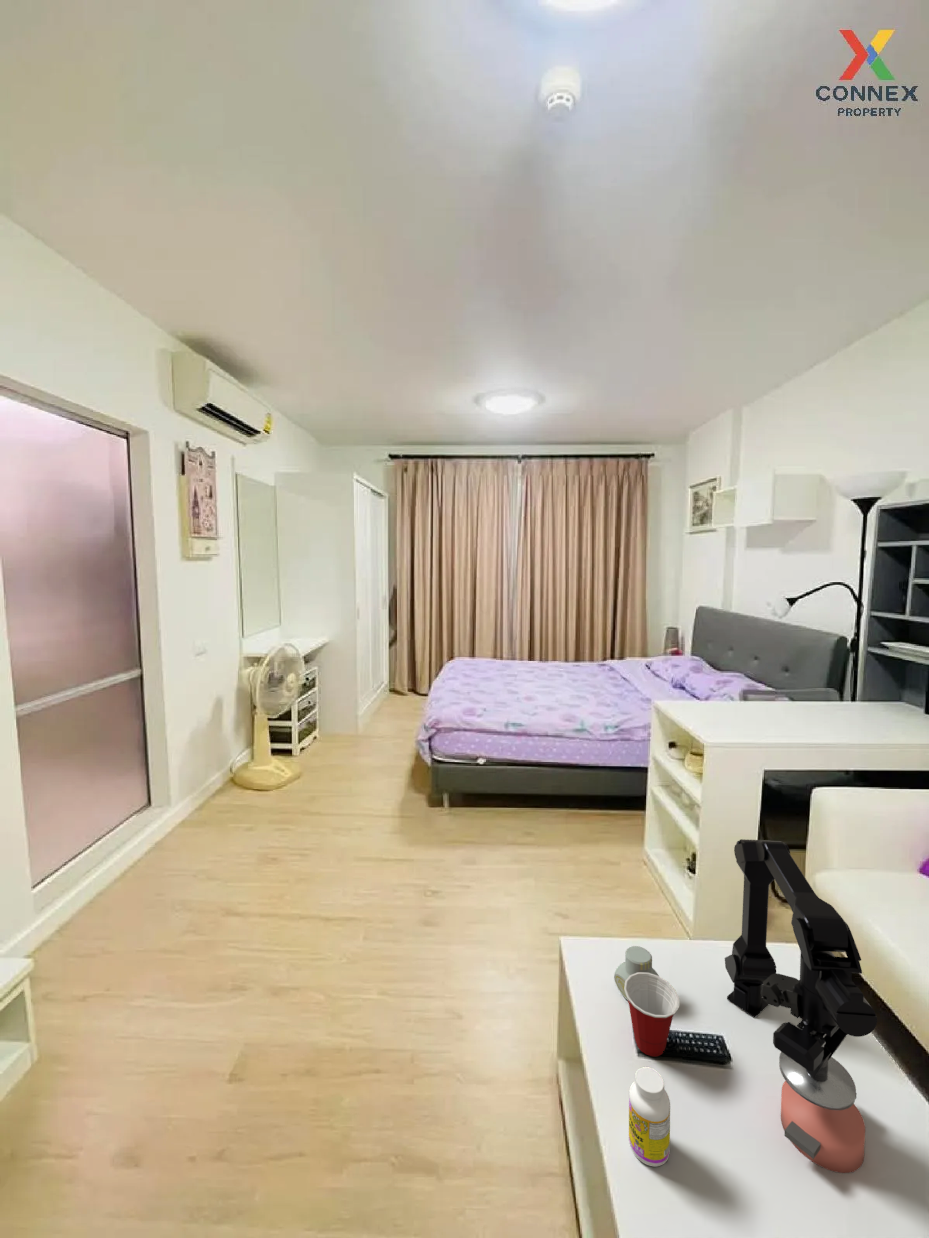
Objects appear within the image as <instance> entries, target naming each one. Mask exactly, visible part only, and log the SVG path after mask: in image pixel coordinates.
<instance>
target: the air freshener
mask: <svg viewBox="0 0 929 1238" xmlns="http://www.w3.org/2000/svg"><path fill="white" fill-rule="evenodd" d="M624 960H625V961H624V962H622V963H620V964H619V965H618V966H617V968H615V971H614V973H613V979H614V980H613V981H614V983H615V986H616V987H617V989H618V991H619V992H620V995H622V997H624V999H625V1000H627V1001H628V999H627V996H626V993H625V990H624V986H625V981H626V979H627V978H628V977H629V976H630V975H632V974H635V973H638V972H646V973H651V974H654V975H657V976H659V977H660V975H659V974H658V972H657V971H656V970H655V969H654V968H653V956H652V954H651V952H650V951H648V949H647V948H644V947H641V946H639V945H638V946H637V945H633V946H632V945H631V946H629V947H628V948H626V950H625V959H624Z"/></svg>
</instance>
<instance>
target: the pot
mask: <svg viewBox="0 0 929 1238" xmlns="http://www.w3.org/2000/svg"><path fill="white" fill-rule="evenodd" d="M856 1096H857V1092H856ZM780 1121H781V1122H780V1123H781V1125H782V1129H783V1131H784V1134H783V1135H784V1137H786V1138H787V1139H788V1140H789V1141H790V1142H791V1143H792V1145H793V1146H794V1147H795V1148H796V1150H798V1151H799V1152H800V1153H801V1154H802V1155H803V1156H804V1157H805V1158H807V1159H808V1160H809V1161H810V1162H813V1163H814V1164H816V1165H817V1166H820V1168H823V1169H825V1170H828V1171H832V1172H835V1173H839V1174H849V1173H854V1172H856V1171H858V1170H859V1169H860V1168H861V1167H862V1165H863V1163H864V1159H865V1143H866V1141H865V1139H866V1124H865V1121H864V1117H863V1116H862V1113H861V1112H860V1110H859V1109H858V1107H857V1106H856V1104H855V1103H854V1104H853V1105H852V1106H851V1107H850V1108H848V1109H845V1110H829V1109H825V1108H822V1107H819V1106H817V1105H815V1104H813V1103H811V1102H809V1101H807V1100H806V1099H804V1098H803V1097H801V1096H800V1095H799V1094H798V1093H796V1092H795V1091H794V1090H793V1089H792V1088H791V1087H790V1086H789V1085H788V1083H787V1082H786V1081H785V1080H784V1082H783V1084H782V1087H781V1099H780Z"/></svg>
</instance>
